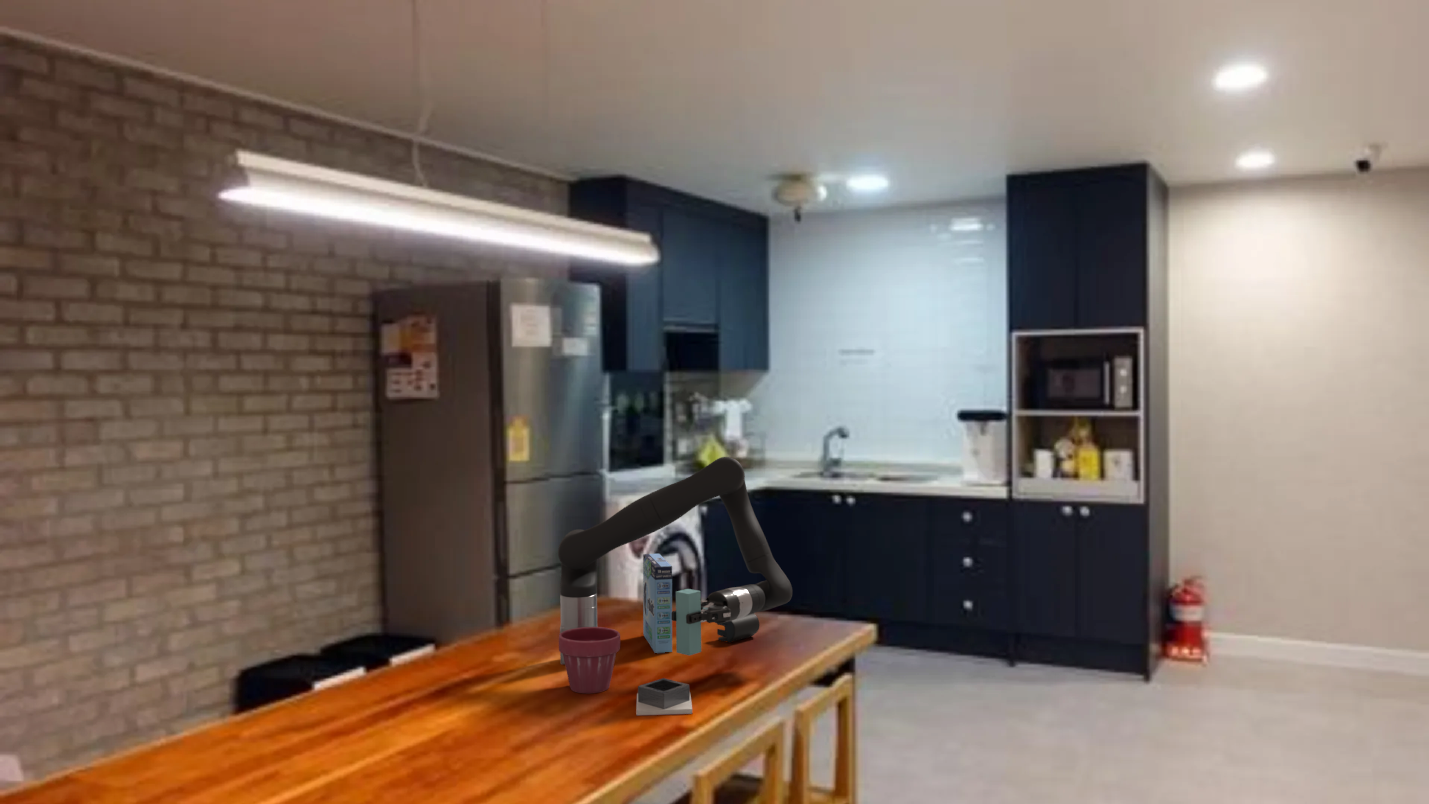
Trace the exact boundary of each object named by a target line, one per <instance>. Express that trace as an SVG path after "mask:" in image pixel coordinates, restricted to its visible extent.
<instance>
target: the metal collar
mask: <svg viewBox="0 0 1429 804" xmlns="http://www.w3.org/2000/svg"><path fill="white" fill-rule="evenodd" d="M690 690H691V689H690V684H688V683H684V682H680V681H676V680H673V679H669V678H666V677H663V678H659V679H655V680H653V681H650V682H647V683H643V684H640V685H638V686H637V694H638V702H640V703H644V704H647V705H651V706H654V707H658V708H661V709H667V708H670V707H672V706H675V705H678V704H681V703H684V702H687V701H689V700H690V695H691V692H690Z"/></svg>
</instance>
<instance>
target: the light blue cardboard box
mask: <svg viewBox="0 0 1429 804" xmlns="http://www.w3.org/2000/svg"><path fill="white" fill-rule="evenodd" d="M642 557H643V559H642V560H643V562H642V564H643V565H642V566H643V567H642V568H643V569H642V571H643V572H642V577H643V579H642V581H643V582H642V588H643V589H642V590H643V591H642V592H643V595H642V596H643V597H642V600H643V601H642V602H643V606H642V607H643V611H642V612H643V615H642V616H643V618H642V620H643V623H642V625H643V627H642V628H643V629H642V631H643V636H644V638H645V639H646V641H647V643H648V644H649V646H650V647H651V649H652V651H653V652H654V654H655V653H657V654H666V653H665V652H672V653H673V621H672V611H673V566H672V564H670V563H669V562H668V561H667V560H666V558H664V557H663V556H662V555H661V553H644V554H643V555H642Z"/></svg>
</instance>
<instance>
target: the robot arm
mask: <svg viewBox="0 0 1429 804" xmlns="http://www.w3.org/2000/svg"><path fill="white" fill-rule="evenodd" d="M745 476H746V475H745V470H744V467H743V466H742V464H741V463H740V462H739V461H738V460H737V459H735V458H734V457H730V456H722V457H719V458H717V459H715V460H713V461H712V462H711V463H709V464H708V465H706V466H705V467H703V468H701V469H700V470H698V471H697V472H695V473H694V474H692V475H690V476H688V477H686V478H684V479H682V480H679V481H677V482H674V483H673V482H672V483H671V484H668V485H666V486H663V487H661V488H659V489H657V490H654V491H652V492H649V493H648V494H646V495H644V496H642V497H639V498H638V499H636V500H634V501H633V502H631V503H629V504H628V505H626V506H624V507H623V508H621V509H620V510H618V512H616V513H615V514H613V515H612V516H610V517H609V518H607V519H606V520H604V521H603V522H601V523H599V524H596V525H594V526H592V527H590V528H587V529H573V530H571V531H569V532H568V533H566V534H565V536H564V537H563V538H562V540H561V541H560V542H559V546H558V549H557V556H558V559H559V561H560V566H561V567H560V571H561V573H560V584H559V589H560V590H559V593H560V598H559V601H560V627H559V634H560V633H561V632H563V631H566V630H569V629H574V628H582V627H598V596H597V595H598V589H597V588H598V560H599V559H600V558H603V556H605V555H607V554H608V553H610V552H611V551H614V550H615V549H617V548H619V547H622V546H624V545H627V544H629V543H630V544H631V543H632V542H635V541H637V540H639V539H642V538H644V537H646V536H648V535H651V534H653V533H655V532H657V531H659V530H661V529H663V528H665V527H667V526H669V525H670V524H672V523H674V522H675V521H677V520H679V519H680V518H682V517H683V516H684V515H686V514H687V513H688V512H690V511H691V510H692V509H694V508H695V507H697V506H700V505H701V504H703V503H704V502H707V501H709V500H712V499H715V498H717V497H719V498H720V500H721V501H722V503H723V505H724V507H725V509H726V511H727V513H728V517H729V518H730V522H731V524H732V527H733V532H734V535H735V538H736V541H737V544H738V547H739V550H740V552H741V555H742V558H743V561H744V563H745V565H746V568H747V570H748V572H749V573H751V574H761V575H762V577H764V579H765V580H763V581H760V582H757V583H755V584H745V585H741V586H736V587H735V586H734V587H729V588H725V589H724V588H723V589H721V590H717V591H714V592H711V593H709V594H708V596H707V597H706V599H705V600H701V610H700V611H699V612H694V613H690V614H687V615H686V623H687V624H692V623H696V622H701V623H708V624H711V623H715V624H716V625H717V624H722V623H725V622H729V621H732V620H736V619H739V618H742V617H744V616H746V615H749V614H753V613H754V614H756V613H758V612H765V611H767V610H771V609H774V608H777V607H779V606H782V605H785V604H788V602H790V601H791V599H792V597H793V587H792V586H793V585H792V584H791V582H790V580H789V578H788V577H787V575H786V574H785V572H784V571H783V570H782V569H781V567H780V565H779V564H778V562H776V560H775V558H774V556H773V553H772V551H771V548H770V546H769V543H768V540H767V539H766V535H765V534H764V532H763V529H762V527H761V525H760V523H759V521H758V519H757V517H756V514H755V512H754V508H753V507H752V504H751V500H750V497H749V494H748V489H747V486H746V479H745V478H746V477H745ZM672 622H676V609H675V610H672ZM559 653H560V660H559V661H560V665H565V662H564V657H563V654H562V653H561V652H560V651H559Z"/></svg>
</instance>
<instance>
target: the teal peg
mask: <svg viewBox="0 0 1429 804" xmlns="http://www.w3.org/2000/svg"><path fill="white" fill-rule="evenodd" d="M701 598H702V597H701V590H697V589H693V588H692V589H691V588H685V589H681V590H678V591H677V590H676V591H675V610H676V621H675V626H676V627H675V629H676V630H675V631H676V632H675V635H676V636H675V638H676V639H675V640H676V645H675V646H676V647H675V648H676V649H675V651H676V653H677V654H681V655H686V656H688V657H689V656H693V655H696V654H699V653H701V652H702V622H696V623H692V624H687V623H686V615H687V614H690V613H694V612H699V611H700V610H701V601H702V600H701Z"/></svg>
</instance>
